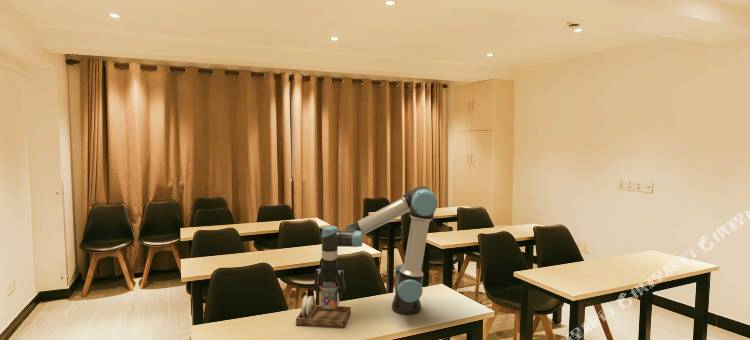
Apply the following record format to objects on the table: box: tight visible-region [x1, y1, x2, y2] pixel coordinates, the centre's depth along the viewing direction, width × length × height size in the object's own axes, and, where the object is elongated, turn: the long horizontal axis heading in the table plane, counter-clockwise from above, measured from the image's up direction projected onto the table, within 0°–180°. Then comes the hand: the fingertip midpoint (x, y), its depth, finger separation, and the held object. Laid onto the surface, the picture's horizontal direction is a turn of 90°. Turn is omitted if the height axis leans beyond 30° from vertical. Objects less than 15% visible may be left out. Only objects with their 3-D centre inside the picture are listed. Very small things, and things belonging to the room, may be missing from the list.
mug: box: [318, 281, 339, 309], centre depth 213 cm, size 12×9×11 cm
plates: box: [300, 295, 314, 318], centre depth 215 cm, size 3×10×10 cm, turn 173°
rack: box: [295, 304, 352, 329], centre depth 215 cm, size 23×17×4 cm
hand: (329, 304), depth 214 cm, fingers closed on mug, 8 cm apart
